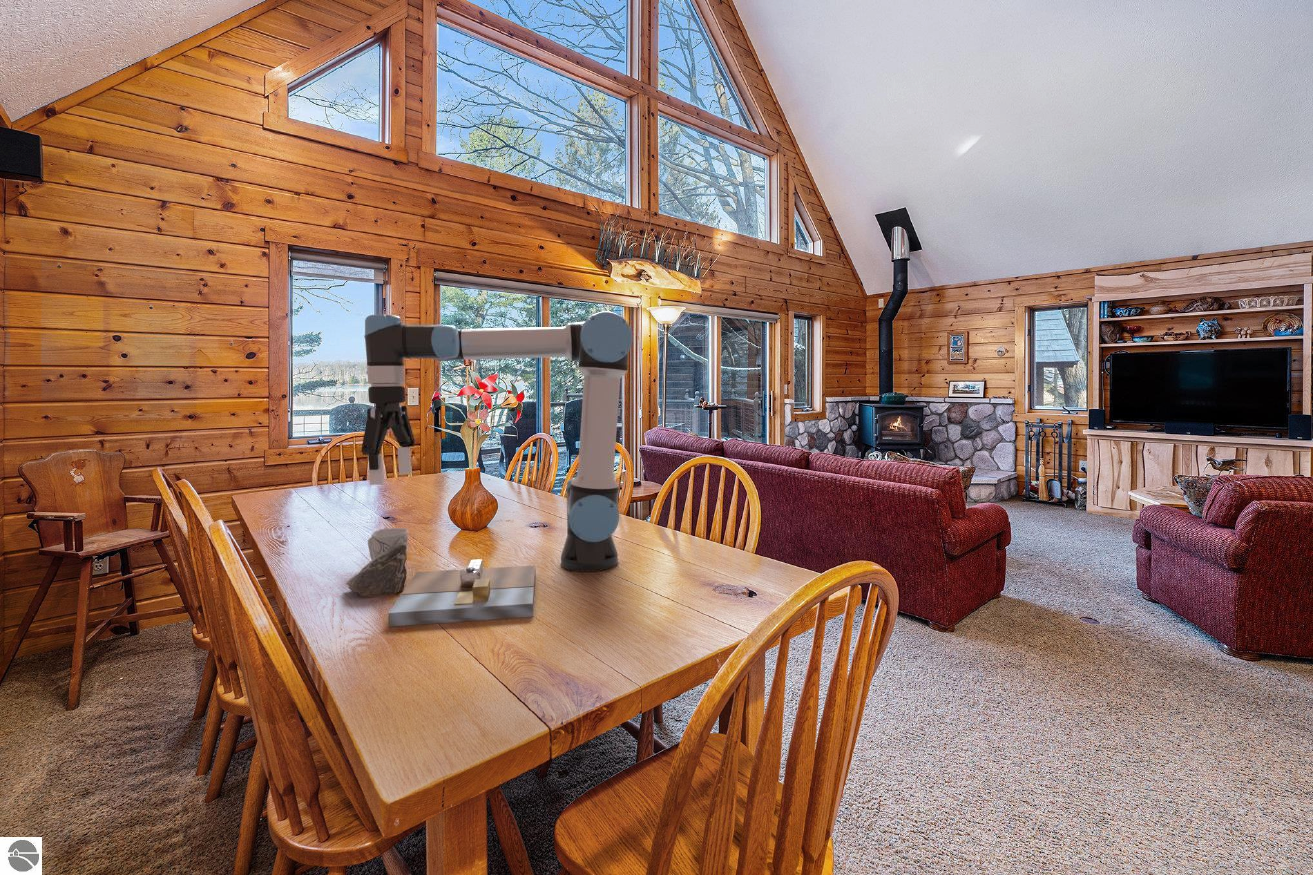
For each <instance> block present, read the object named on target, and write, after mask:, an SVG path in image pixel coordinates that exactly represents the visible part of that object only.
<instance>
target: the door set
mask: <svg viewBox="0 0 1313 875" xmlns="http://www.w3.org/2000/svg"><path fill="white" fill-rule="evenodd" d="M462 570H464V569H463V568H462V569H448V570H430V571H416V572H415V574H414V575H413V577H412V578H411V579H410V581H409V583H408V584H407V585H406V586H405V587H404V589H403V591H402V592H401V594H400V596H398V598H397V599H396V601H395V603H394V604H393V606H392V607H391V608H390V610H389V612H388V614H387V615H388V616H387V617H388V626H389V627H403V626H404V627H405V626H417V625H419V626H420V625H430V624H433V625H434V624H444V623H460V622H474V621H475V622H477V621H488V620H503V619H518V618H531V617H533V616H534V604H535V603H534V602H535V589H536V575H537V574H536V565H521V566H502V567H499V566H498V567H484V568H483V567H482V569H481V579H475V582H474V585H473V586H472V587H464V586H461V580H460V572H461V571H462ZM389 627H388V628H389Z"/></svg>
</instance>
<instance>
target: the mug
mask: <svg viewBox="0 0 1313 875" xmlns="http://www.w3.org/2000/svg"><path fill="white" fill-rule="evenodd" d="M408 533H409V532H408V530H407V529H406V528H401V527H398V528H397V527H394V528H393V527H392V528H391V527H390V528H385V529H379V530H376V531H373V532H371V537H369V538H368V541H367V546H368V551H369V557H370V559H371V561H372V560H373V559H374V558H375V557H377V556H379V555H380V554H382V553H383V552H385V551H386V550H387V549H388V548H389V547H390V546H391V545H392V544H393V543H394V541H395V540H396V539H397V538H398V537H400V536H401V537H402V539H403V541H404V542H405V545H406V551H405V552H406V553H408V536H409V534H408Z"/></svg>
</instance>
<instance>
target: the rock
mask: <svg viewBox="0 0 1313 875" xmlns="http://www.w3.org/2000/svg"><path fill="white" fill-rule="evenodd" d="M405 551H406V545H405V542H404V541H403V539H402V537H401V536H400V537H398V538H397V539H396V540H395V541H394V543H393V544H392V545H391V546H390V547H389V548H388V549H387V550H386V551H385V552H383V553H382V554H380V555H379V556H377V557H375V558H374V559H373V560H371V561H370V562H368V563H366V565H365V566H364V567H362V568H361V570H360V571H359V572H358V573H357V574H355V575H353V577H350V579H349V580H348V581H347V582H346V585H348V589H349V590H350V591H352V592H356V593H359V595H360V596H361V597H364V598H368V597H369V598H376V597H383V596H386V595H387V596H388V595H389V596H390V595H393V594H397V593H400V592H401V591H402V590H403V591H404V589H405V583H406V581H407V573H408V571H407V568H406V561H407V558H408V557H407V553H408V552H407V553H406V552H405Z"/></svg>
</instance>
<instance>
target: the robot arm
mask: <svg viewBox="0 0 1313 875" xmlns="http://www.w3.org/2000/svg"><path fill="white" fill-rule="evenodd" d="M364 341H365V352H366V369H367V370H366V372H365V373H366V375H367V382H368V384H369V385H371V386H369V387H368V388H367V390H368V391H367V392H368V393H367V394H368V402H369V403H370V404H374V405H375V407H373V408H370V407H369V408H367V411H366V412H367V413H366V417H367V418H366V423H365V429H364V432H363V439H362V443H361V453H362V455H364V456H367V459H368V473H369V485H370V486H371V485H373V486H376V485H377V486H379V485H384V484H385V480H384V479H385V478H384V463H383V454H380V453H381V451H382V450H381V449H382V448H383V444H384V441H385V438H386V436H387V433H388V430H390V429H391V431H392V433H393V436H394V437H395V439H396V442H397V444H398V445H399V446H398V447H397V462H398V475H405V476H406V475H412V474H413V473H412V471H413V470H412V457H411V456H412V455H411V454H412V453H411V447H415V442H416V441H415V436H414V432H413V429H412V426H411V423H410V419H409V416H408V415H409V414H408V408H407V405H400V404H403V403H405V402H406V399H407V398H406V387H405V386H403V384H405V383H406V380H405V378H406V377H405V367H404V366H405V365H404V359H418V360H419V359H423V360H424V359H425V360H427V359H431V360H436V361H439V362H450V361H462V360H495V359H496V360H497V359H498V360H499V359H503V360H504V359H535V358H536V359H537V358H538V359H539V358H566V359H568V361H570V362H571V361H572V362H573V361H576V362H577V361H578V367H577V368H578V370H579V371H580V372H581V373H582V374H583V387H582V388H583V389H582V390H583V391H582V405H581V407H582V408H581V418H580V420H581V421H580V437H579V447H578V448H579V449H578V450H579V451H578V464H577V465H578V466H577V474H576V477H574V478H571V479H568V480H567V482H566V488H565V492H566V524H567V526H566V527H567V528H566V532H567V533H566V534H567V535H566V539H565V542H564V544H563V548H562V552H561V554H560V564H561V567H563V568H564V569H567V570H571V571H575V572H600V571H604V570H608V569H611V568H613V567H615V566H616V565H617V564H618V563H619V562H618V561H619V558H618V556H619V554H618V551H617V547H616V545H615V542H614V539H613V536H612V535H613V534H614V533H615V531H616V530H617V528H618V526H619V522H620V511H619V508H618V504H619V503H618V502H619V492H620V491H619V490H620V489H619V488H620V487H619V486H620V485H619V483H618V482H617V480H616V479H615V478H614V474H615V473H614V471H615V470H614V469H615V459H616V458H615V456H616V445H617V443H616V442H617V432H618V431H617V430H618V413H619V404H620V403H619V401H620V389H621V388H620V387H621V379H622V378H623V377H624V376H625V374H627V373H628V368H629V366H628V364H629V356H630V355H629V354H630V349H631V347H632V345H633V332H632V328H631V326H630V324H629V323H628V321H627V320H626V319H625V318H624V317H623V316H621V315H620V314H619V313H616V312H613V311H605V310H603V311H598V312H595V313H593V314H591V315H590V316H589V317H587V318H586V319H585V320H584V321H579V322H567V324H566V325H565V326H557V327H556V326H554V327H553V326H552V327H551V326H550V327H546V326H545V327H508V328H505V327H504V328H502V327H501V328H469V329H468V328H467V329H465V328H464V329H463V328H462V329H459V328H457V327H456V326H455V325H452V324H451V325H447V324H415V325H414V324H412V325H411V324H403V322H402V318H401V317H400V316H399V315H394V314H370V315H368V316H366V317H365V319H364Z"/></svg>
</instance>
